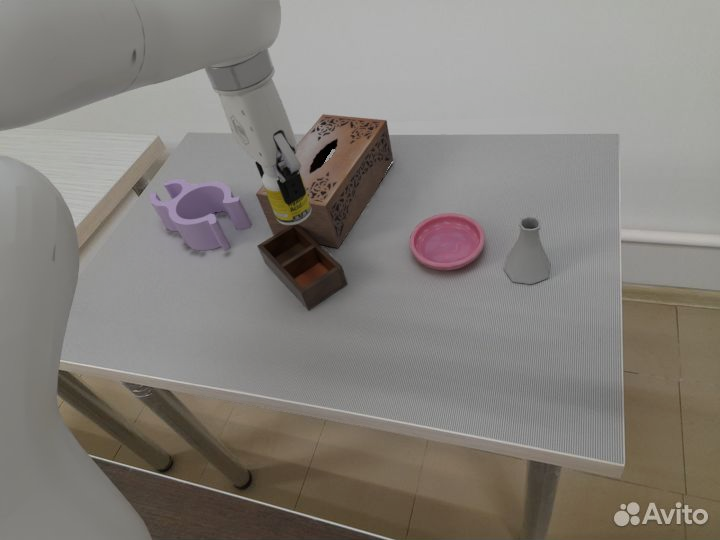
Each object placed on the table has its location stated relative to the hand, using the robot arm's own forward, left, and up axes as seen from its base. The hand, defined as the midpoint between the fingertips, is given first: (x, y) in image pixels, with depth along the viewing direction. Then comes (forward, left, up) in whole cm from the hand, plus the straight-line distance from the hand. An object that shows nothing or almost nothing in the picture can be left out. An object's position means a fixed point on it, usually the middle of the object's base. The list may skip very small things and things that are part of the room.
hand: (284, 188), depth 73 cm
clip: (-8, +32, -22) cm, 40 cm away
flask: (+27, -21, -22) cm, 40 cm away
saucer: (+21, -9, -22) cm, 32 cm away
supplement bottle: (0, 0, -5) cm, 5 cm away
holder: (0, +5, -22) cm, 23 cm away
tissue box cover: (+15, +18, -22) cm, 32 cm away
